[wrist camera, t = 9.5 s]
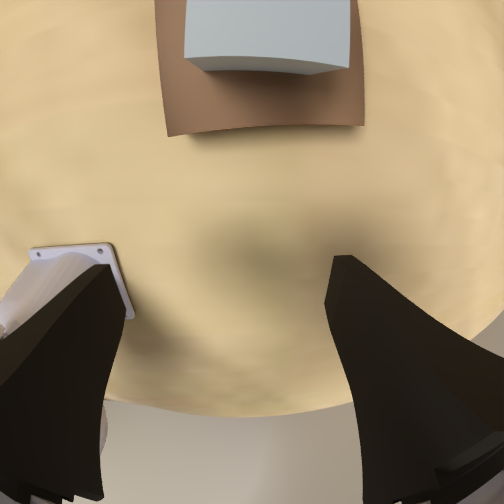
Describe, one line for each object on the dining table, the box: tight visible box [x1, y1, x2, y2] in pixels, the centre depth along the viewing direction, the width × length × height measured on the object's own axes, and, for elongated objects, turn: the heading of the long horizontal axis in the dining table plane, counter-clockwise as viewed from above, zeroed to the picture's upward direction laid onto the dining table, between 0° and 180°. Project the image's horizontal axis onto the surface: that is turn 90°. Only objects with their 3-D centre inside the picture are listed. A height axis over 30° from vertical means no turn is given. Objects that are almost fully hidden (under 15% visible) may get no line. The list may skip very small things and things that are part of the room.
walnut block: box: [155, 0, 365, 137], centre depth 11 cm, size 10×10×4 cm
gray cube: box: [184, 0, 350, 75], centre depth 7 cm, size 5×5×5 cm
